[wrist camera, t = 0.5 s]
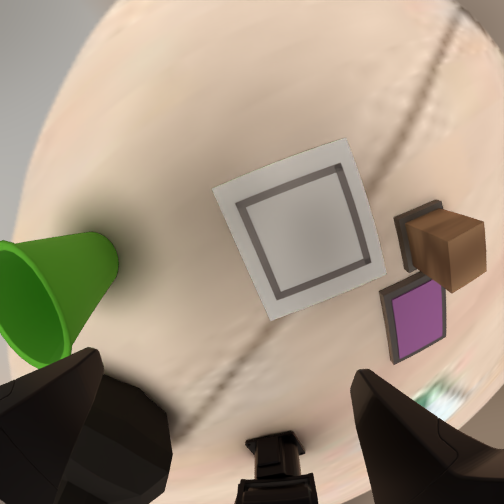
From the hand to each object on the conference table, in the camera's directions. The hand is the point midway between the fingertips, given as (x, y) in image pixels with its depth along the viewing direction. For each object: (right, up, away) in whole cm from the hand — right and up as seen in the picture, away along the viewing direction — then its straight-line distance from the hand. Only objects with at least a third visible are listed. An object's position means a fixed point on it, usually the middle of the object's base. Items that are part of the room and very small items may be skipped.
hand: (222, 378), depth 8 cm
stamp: (+16, +6, +13) cm, 21 cm away
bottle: (-16, -16, +20) cm, 30 cm away
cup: (-13, +4, +14) cm, 20 cm away
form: (+5, +6, +13) cm, 15 cm away
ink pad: (+17, -2, +15) cm, 23 cm away
